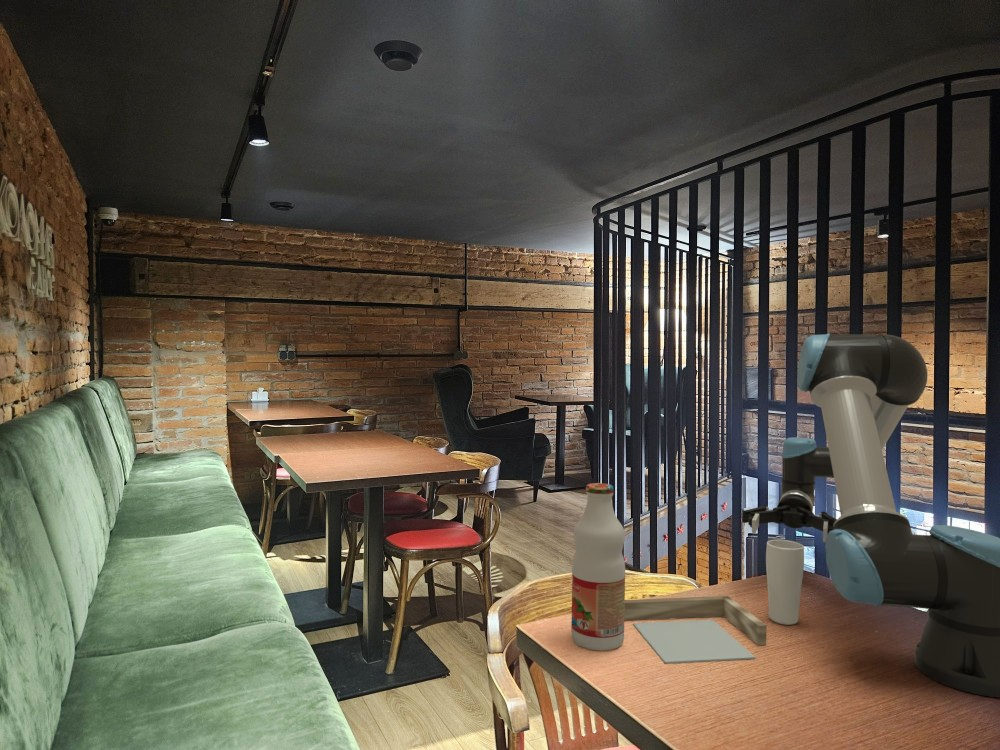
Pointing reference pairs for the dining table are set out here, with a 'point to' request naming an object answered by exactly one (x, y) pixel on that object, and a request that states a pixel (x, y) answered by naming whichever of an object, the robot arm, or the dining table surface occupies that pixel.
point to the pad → (692, 641)
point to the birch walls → (698, 612)
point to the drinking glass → (784, 580)
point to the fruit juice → (598, 574)
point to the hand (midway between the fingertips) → (788, 531)
